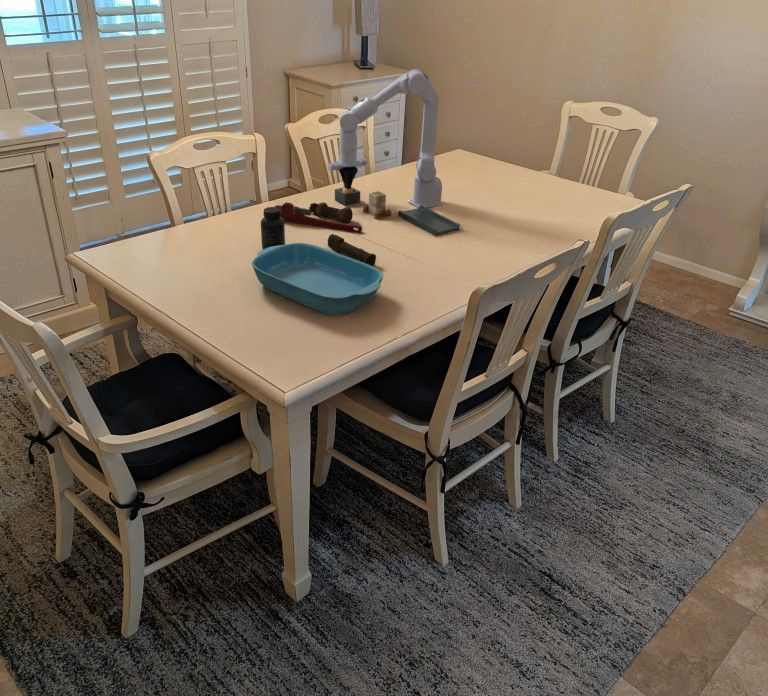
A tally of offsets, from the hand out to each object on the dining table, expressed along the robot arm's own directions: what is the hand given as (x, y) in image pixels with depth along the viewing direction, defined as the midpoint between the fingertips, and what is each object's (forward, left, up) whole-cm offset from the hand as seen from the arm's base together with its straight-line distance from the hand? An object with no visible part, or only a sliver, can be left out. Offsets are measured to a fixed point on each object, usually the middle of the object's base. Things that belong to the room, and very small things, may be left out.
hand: (347, 188), depth 237 cm
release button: (0, 0, -4) cm, 4 cm away
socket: (-2, +15, -5) cm, 16 cm away
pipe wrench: (+21, +14, -5) cm, 26 cm away
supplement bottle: (+41, +23, -5) cm, 47 cm away
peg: (-2, +15, -5) cm, 16 cm away
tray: (-12, +30, -5) cm, 33 cm away
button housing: (0, 0, -5) cm, 5 cm away
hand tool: (+25, +39, -5) cm, 47 cm away
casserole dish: (+44, +53, -5) cm, 69 cm away
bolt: (+13, +10, -5) cm, 17 cm away
